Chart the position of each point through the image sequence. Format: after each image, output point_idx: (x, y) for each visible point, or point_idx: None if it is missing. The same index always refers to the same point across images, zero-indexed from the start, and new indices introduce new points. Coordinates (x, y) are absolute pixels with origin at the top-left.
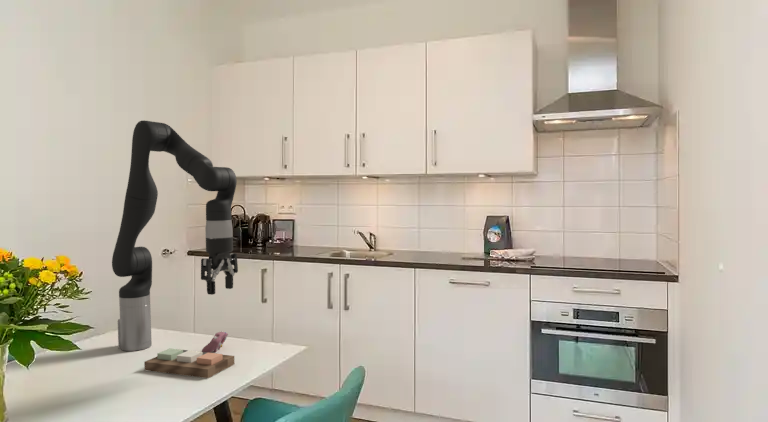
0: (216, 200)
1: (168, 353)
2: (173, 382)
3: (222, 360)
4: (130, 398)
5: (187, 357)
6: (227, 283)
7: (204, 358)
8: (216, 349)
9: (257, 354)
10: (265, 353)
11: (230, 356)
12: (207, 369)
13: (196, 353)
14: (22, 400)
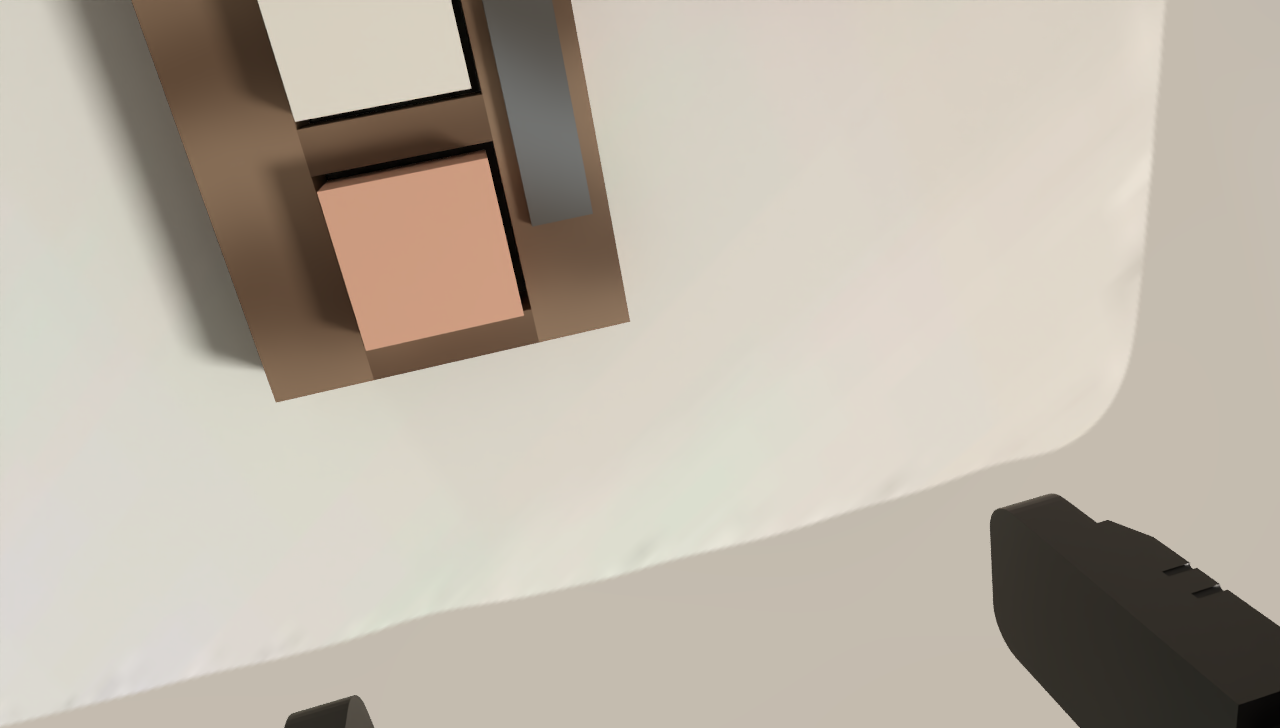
0: None
1: None
2: (52, 208)
3: (494, 330)
4: None
5: (282, 76)
6: (1072, 619)
7: (347, 275)
8: None
9: (870, 277)
10: (911, 313)
11: (604, 304)
12: (276, 398)
13: (404, 72)
14: None
